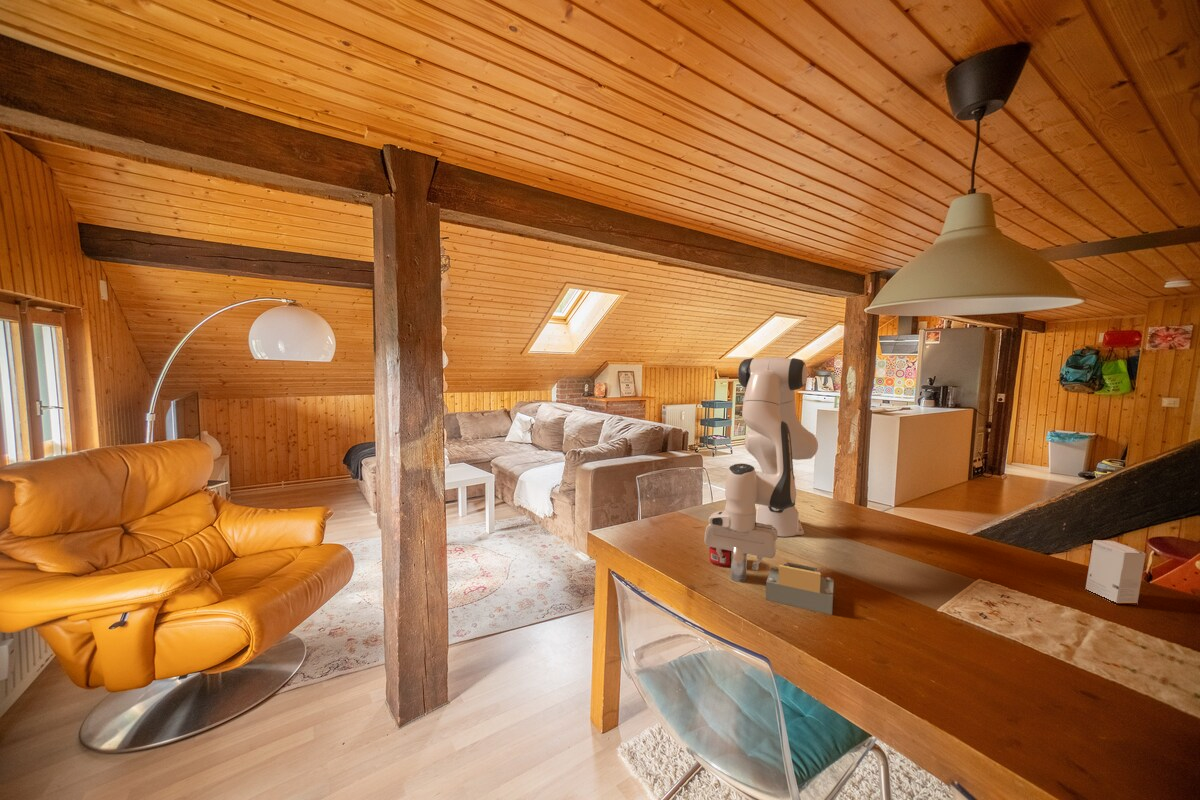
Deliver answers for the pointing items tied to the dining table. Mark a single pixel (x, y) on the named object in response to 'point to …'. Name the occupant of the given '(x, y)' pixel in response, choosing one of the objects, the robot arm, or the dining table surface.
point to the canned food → (716, 559)
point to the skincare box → (1115, 571)
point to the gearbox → (800, 587)
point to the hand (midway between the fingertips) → (738, 565)
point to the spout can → (738, 565)
